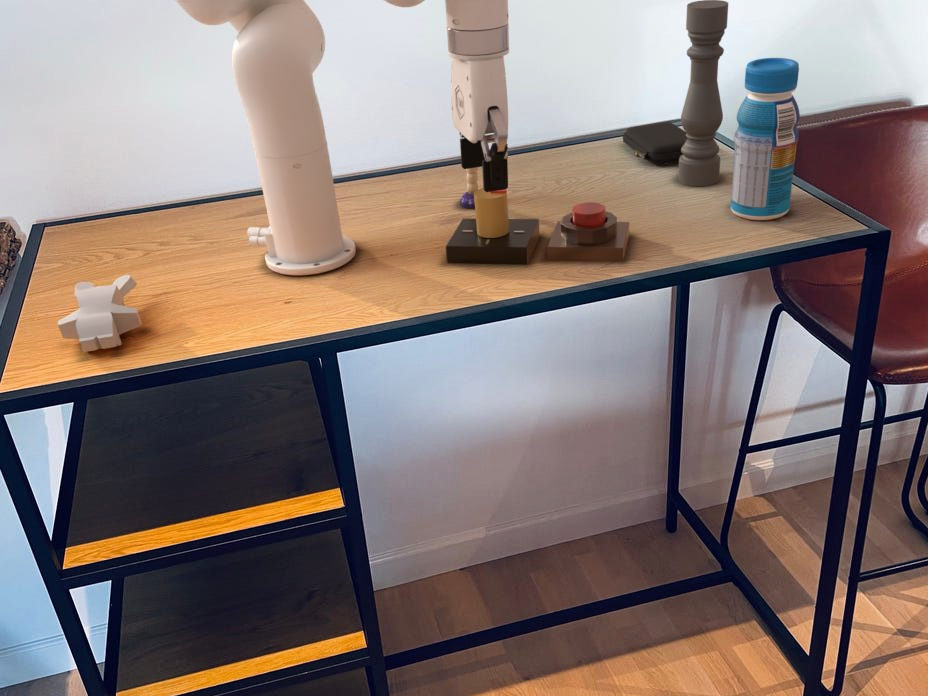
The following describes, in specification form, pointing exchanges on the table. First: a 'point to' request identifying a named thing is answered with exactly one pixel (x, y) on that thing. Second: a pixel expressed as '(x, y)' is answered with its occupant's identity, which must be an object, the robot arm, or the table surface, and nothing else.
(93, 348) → the white blocky figure
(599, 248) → the switch box
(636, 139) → the carrying case
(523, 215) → the table surface
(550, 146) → the table surface
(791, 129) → the beverage bottle
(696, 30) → the candle holder
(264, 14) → the robot arm
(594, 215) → the power button
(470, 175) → the toy lamp
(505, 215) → the dimmer knob
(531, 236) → the dimmer
